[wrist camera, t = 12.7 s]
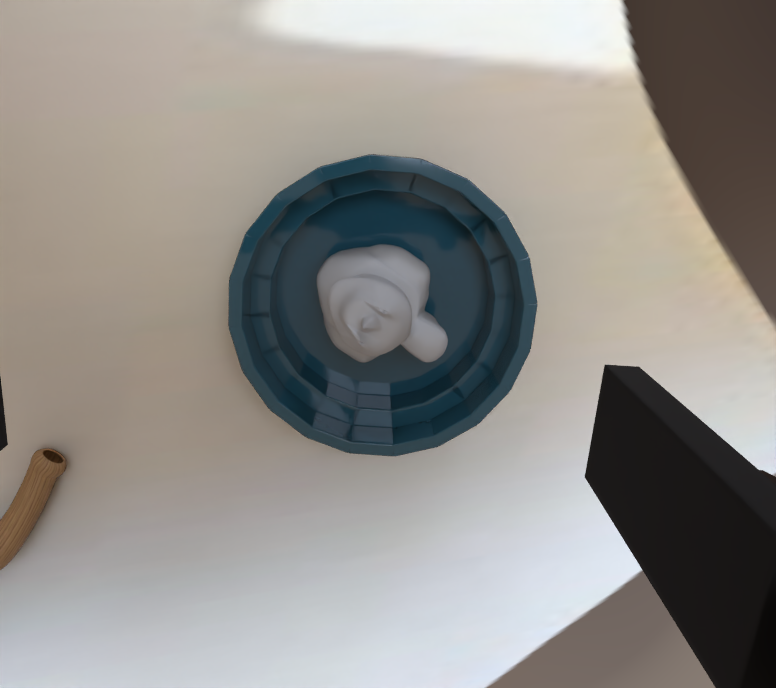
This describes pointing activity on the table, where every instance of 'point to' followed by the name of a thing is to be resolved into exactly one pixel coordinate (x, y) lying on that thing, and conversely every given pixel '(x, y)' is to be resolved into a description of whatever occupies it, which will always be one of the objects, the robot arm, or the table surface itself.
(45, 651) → the table surface
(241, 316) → the bowl
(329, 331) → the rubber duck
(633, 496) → the robot arm
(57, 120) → the table surface
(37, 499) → the pipe
